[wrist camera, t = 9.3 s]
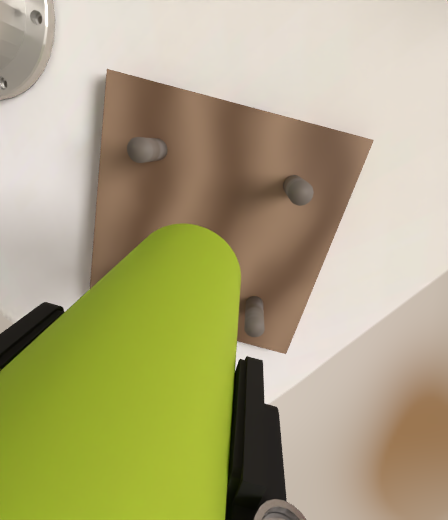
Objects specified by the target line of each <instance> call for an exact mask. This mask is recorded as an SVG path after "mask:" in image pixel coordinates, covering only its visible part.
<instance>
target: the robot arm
mask: <svg viewBox="0 0 448 520" xmlns="http://www.w3.org/2000/svg"><path fill="white" fill-rule="evenodd" d="M54 32H55V13H54V3H53V0H0V100H2V99H7V98H12V97H15V96H17V95H19V94H21V93H23V92H25V91H26V90H27V89H28V88H30V87H31V86H32V85H33V84H34V83H35V82H36V81H37V80H38V78H39V77H40V76H41V74H42V73H43V71H44V69H45V67H46V65H47V63H48V60H49V58H50V55H51V51H52V46H53V42H54ZM63 313H64V310H63V307H61V306H58V305H54V304H50V303H47V302H44V303H42V304H40V305H39V306H38V307H36V308H35V309H34V310H32V311H31V312H30V313H28V314H27V315H25V316H24V317H23V318H21V319H20V320H19V321H17V322H16V323H15V324H13V325H12V326H11V327H9V328H8V329H6V330H5V331H4V332H2V333H1V334H0V371H1V370H2V369H3V368H4V367H5V366H6V365H8V364H9V363H10V362H11V361H12V360H13V359H14V358H15V357H16V356H17V355H18V354H20V353H21V352H22V351H23V350H24V349H25V348H26V347H27V346H28V345H29V344H31V343H32V342H33V341H34V340H35V339H36V338H37V337H38V336H39V335H40V334H41V333H43V332H44V331H45V330H46V329H47V328H48V327H49V326H50V325H51V324H52V323H54V322H55V321H56V320H57V319H58V318H59V317H60V316H61V315H62V314H63ZM225 520H306V518H305V517H304V516H303V514H302V513H301V512H300V511H299V510H298V509H297V508H296V507H295V506H293V505H292V504H290V503H288V502H287V501H286V490H285V479H284V467H283V455H282V444H281V433H280V421H279V412H278V408H277V407H275V406H271V405H268V404H264V381H263V361H262V360H259V359H255V358H251V357H248V356H247V357H246V358H245V360H242V359H240V360H239V362H238V365H237V368H236V371H235V377H234V392H233V407H232V422H231V437H230V452H229V467H228V482H227V497H226V512H225Z"/></svg>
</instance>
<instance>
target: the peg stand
mask: <svg viewBox="0 0 448 520" xmlns="http://www.w3.org/2000/svg"><path fill="white" fill-rule="evenodd" d="M373 141H374V140H371V139H368V138H364V137H360V136H356V135H353V134H349V133H345V132H341V131H338V130H334V129H330V128H326V127H323V126H319V125H315V124H311V123H308V122H304V121H300V120H296V119H293V118H289V117H285V116H281V115H278V114H274V113H270V112H266V111H263V110H259V109H255V108H251V107H248V106H244V105H240V104H236V103H233V102H229V101H225V100H221V99H218V98H214V97H210V96H206V95H203V94H199V93H195V92H191V91H188V90H184V89H180V88H176V87H173V86H169V85H165V84H161V83H158V82H154V81H150V80H146V79H143V78H139V77H135V76H132V75H128V74H124V73H120V72H117V71H113V70H109V69H107V75H106V87H105V100H104V113H103V126H102V139H101V152H100V165H99V177H98V190H97V203H96V216H95V229H94V242H93V255H92V267H91V280H90V289H91V288H92V287H93V286H94V285H95V284H96V283H97V282H98V281H100V280H101V279H102V278H103V277H104V276H105V275H106V274H107V273H108V272H109V271H110V270H112V269H113V268H114V267H115V266H116V265H117V264H118V263H119V262H120V261H121V260H123V259H124V258H125V257H126V256H127V255H128V254H129V253H130V252H131V251H132V250H134V249H135V248H136V247H137V246H138V245H139V244H140V243H141V242H142V241H143V240H144V239H146V238H147V237H148V236H149V235H150V234H151V233H153V232H154V231H156V230H158V229H160V228H162V227H165V226H168V225H172V224H193V225H198V226H201V227H204V228H207V229H209V230H211V231H213V232H214V233H216V234H217V235H219V236H220V237H221V238H222V239H224V240H225V241H226V242H227V243H228V245H229V246H230V247H231V249H232V250H233V252H234V253H235V255H236V257H237V260H238V262H239V266H240V271H241V286H240V302H239V317H238V332H237V341H239V342H243V343H247V344H250V345H254V346H258V347H262V348H266V349H269V350H273V351H277V352H281V353H284V354H286V353H287V350H288V348H289V345H290V343H291V340H292V338H293V335H294V333H295V331H296V328H297V326H298V323H299V321H300V318H301V316H302V314H303V311H304V309H305V306H306V304H307V301H308V299H309V297H310V294H311V292H312V289H313V287H314V284H315V282H316V279H317V277H318V275H319V272H320V270H321V267H322V265H323V262H324V260H325V258H326V255H327V253H328V250H329V248H330V245H331V243H332V240H333V238H334V236H335V233H336V231H337V228H338V226H339V223H340V221H341V219H342V216H343V214H344V211H345V209H346V206H347V204H348V202H349V199H350V197H351V194H352V192H353V189H354V187H355V184H356V182H357V180H358V177H359V175H360V172H361V170H362V167H363V165H364V163H365V160H366V158H367V155H368V153H369V150H370V148H371V145H372V143H373Z"/></svg>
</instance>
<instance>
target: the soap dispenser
mask: <svg viewBox="0 0 448 520" xmlns="http://www.w3.org/2000/svg"><path fill="white" fill-rule="evenodd" d="M240 286H241V271H240V266H239V262H238V260H237V257H236V255H235V253H234V252H233V250H232V249H231V247H230V246H229V245H228V243H227V242H226V241H225V240H224V239H222V238H221V237H220V236H219V235H217V234H216V233H214V232H213V231H211V230H209V229H207V228H204V227H201V226H198V225H193V224H172V225H168V226H165V227H162V228H160V229H158V230H156V231H154V232H153V233H151V234H150V235H149V236H148V237H147V238H146V239H144V240H143V241H142V242H141V243H140V244H139V245H138V246H137V247H136V248H135V249H134V250H132V251H131V252H130V253H129V254H128V255H127V256H126V257H125V258H124V259H123V260H121V261H120V262H119V263H118V264H117V265H116V266H115V267H114V268H113V269H112V270H110V271H109V272H108V273H107V274H106V275H105V276H104V277H103V278H102V279H101V280H100V281H98V282H97V283H96V284H95V285H94V286H93V287H92V288H91V289H90V290H89V291H87V292H86V293H85V294H84V295H83V296H82V297H81V298H80V299H79V300H78V301H77V302H75V303H74V304H73V305H72V306H71V307H70V308H69V309H68V310H67V311H66V312H64V313H63V314H62V315H61V316H60V317H59V318H58V319H57V320H56V321H55V322H54V323H52V324H51V325H50V326H49V327H48V328H47V329H46V330H45V331H44V332H43V333H41V334H40V335H39V336H38V337H37V338H36V339H35V340H34V341H33V342H32V343H31V344H29V345H28V346H27V347H26V348H25V349H24V350H23V351H22V352H21V353H20V354H18V355H17V356H16V357H15V358H14V359H13V360H12V361H11V362H10V363H9V364H8V365H6V366H5V367H4V368H3V369H2V370H1V371H0V520H225V512H226V497H227V482H228V467H229V452H230V437H231V422H232V407H233V392H234V377H235V362H236V347H237V332H238V317H239V302H240Z"/></svg>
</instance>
